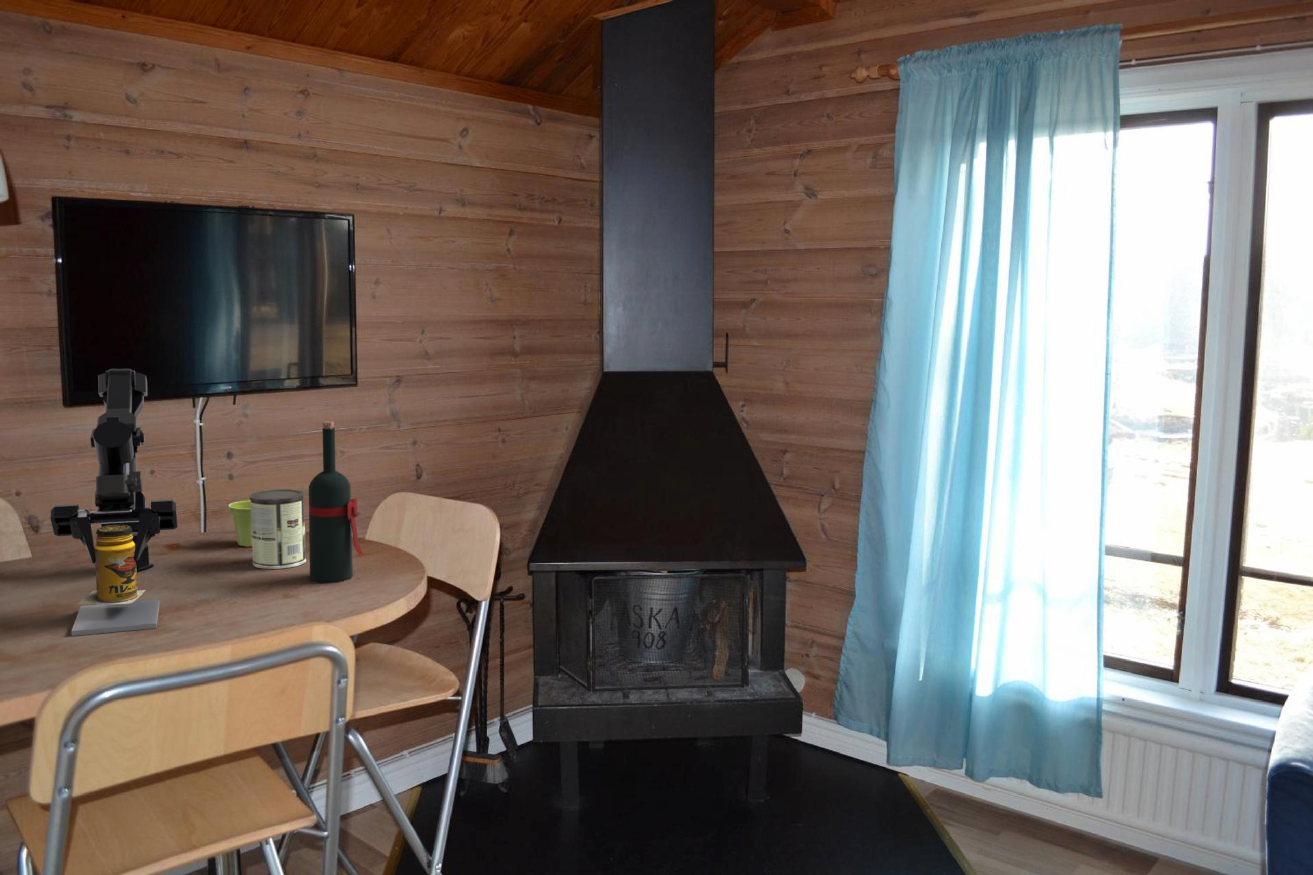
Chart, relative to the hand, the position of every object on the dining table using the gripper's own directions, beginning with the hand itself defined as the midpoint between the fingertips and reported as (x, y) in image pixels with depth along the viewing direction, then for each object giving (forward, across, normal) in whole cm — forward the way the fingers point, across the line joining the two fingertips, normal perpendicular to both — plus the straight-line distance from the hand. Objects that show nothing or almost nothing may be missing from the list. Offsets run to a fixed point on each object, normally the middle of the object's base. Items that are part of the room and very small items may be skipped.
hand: (115, 560), depth 173 cm
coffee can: (-13, +27, +28) cm, 41 cm away
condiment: (+4, -1, +6) cm, 7 cm away
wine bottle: (-3, +37, +17) cm, 40 cm away
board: (+7, 0, +6) cm, 10 cm away
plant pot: (-26, +23, +40) cm, 53 cm away
